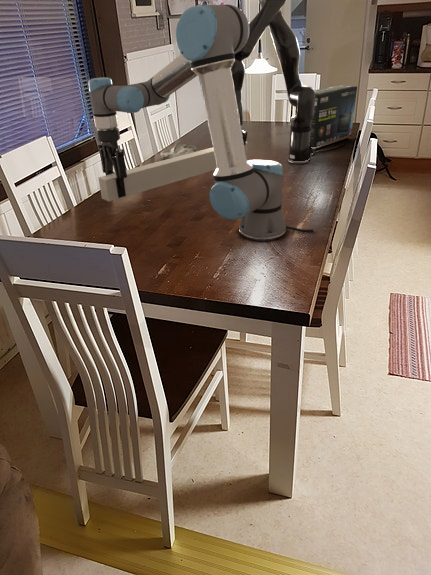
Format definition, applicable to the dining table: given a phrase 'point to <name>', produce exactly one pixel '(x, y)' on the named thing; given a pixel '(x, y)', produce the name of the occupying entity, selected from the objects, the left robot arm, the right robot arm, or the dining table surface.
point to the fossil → (178, 151)
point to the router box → (332, 114)
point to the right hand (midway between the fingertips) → (234, 154)
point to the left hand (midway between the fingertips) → (118, 194)
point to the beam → (160, 173)
